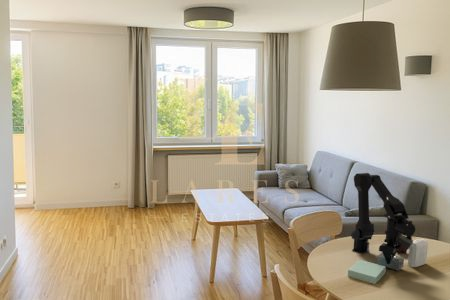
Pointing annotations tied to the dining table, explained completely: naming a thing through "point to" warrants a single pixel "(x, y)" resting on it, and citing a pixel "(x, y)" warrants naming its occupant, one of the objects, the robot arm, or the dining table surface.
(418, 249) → the photo printer
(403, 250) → the mate gourd
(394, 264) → the graphite housing
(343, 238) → the dining table surface
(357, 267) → the sage stand
